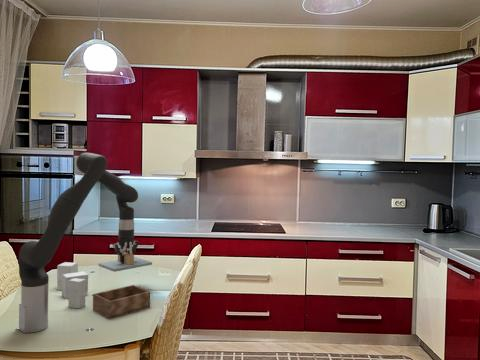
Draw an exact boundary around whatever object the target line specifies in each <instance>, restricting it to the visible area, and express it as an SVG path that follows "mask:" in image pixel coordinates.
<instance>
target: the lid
mask: <svg viewBox="0 0 480 360" xmlns="http://www.w3.org/2000/svg"><path fill="white" fill-rule="evenodd" d="M152 265H153V261H150V260H146V259H142V258H141V257H137V256H136V257H135V255H134V254H129V253H128V252H125V253H124V263H121V262H120V255H117V259H116V260H111V261H105V262H98V266H99V267H101V268H103V269H106V270H108V271H111V272H113V273H114V272H121V271H125V270H131V269H136V268H142V267H146V266H147V267H148V266H152Z"/></svg>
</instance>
